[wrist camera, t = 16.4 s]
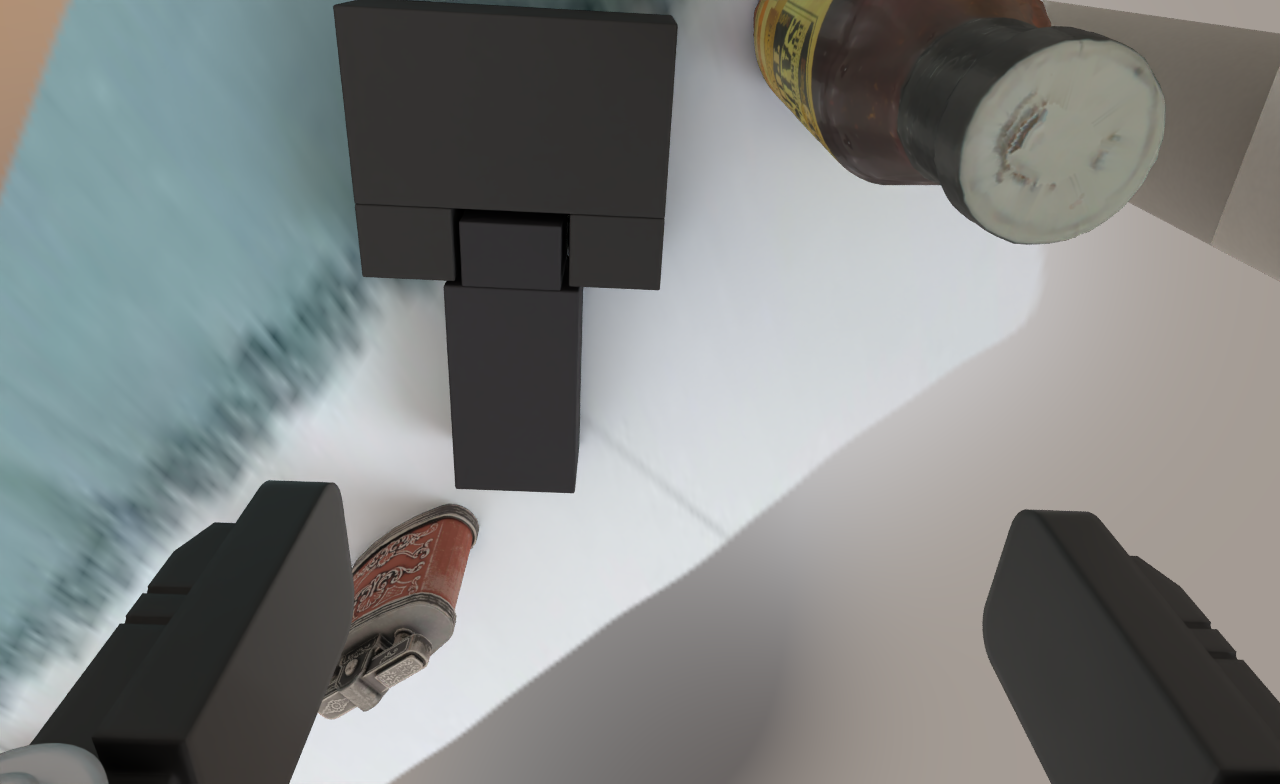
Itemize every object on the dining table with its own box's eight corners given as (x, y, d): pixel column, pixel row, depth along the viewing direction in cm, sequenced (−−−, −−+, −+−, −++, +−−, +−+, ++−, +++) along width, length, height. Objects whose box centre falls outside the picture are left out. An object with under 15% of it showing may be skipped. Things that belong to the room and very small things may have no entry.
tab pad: (585, 200, 36) (580, 227, 33) (579, 448, 42) (574, 494, 39) (457, 193, 36) (439, 220, 33) (469, 443, 42) (455, 489, 39)
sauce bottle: (717, 5, 33) (820, 78, 15) (859, -101, 31) (1156, -152, 14) (800, 145, 35) (969, 344, 18) (935, 54, 34) (1265, 177, 16)
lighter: (382, 601, 47) (326, 754, 38) (339, 563, 46) (270, 712, 37) (493, 534, 45) (460, 678, 36) (450, 492, 44) (406, 631, 35)
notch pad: (672, 15, 33) (677, 24, 30) (656, 258, 38) (659, 290, 34) (364, -3, 33) (332, 4, 29) (387, 245, 37) (362, 277, 34)
